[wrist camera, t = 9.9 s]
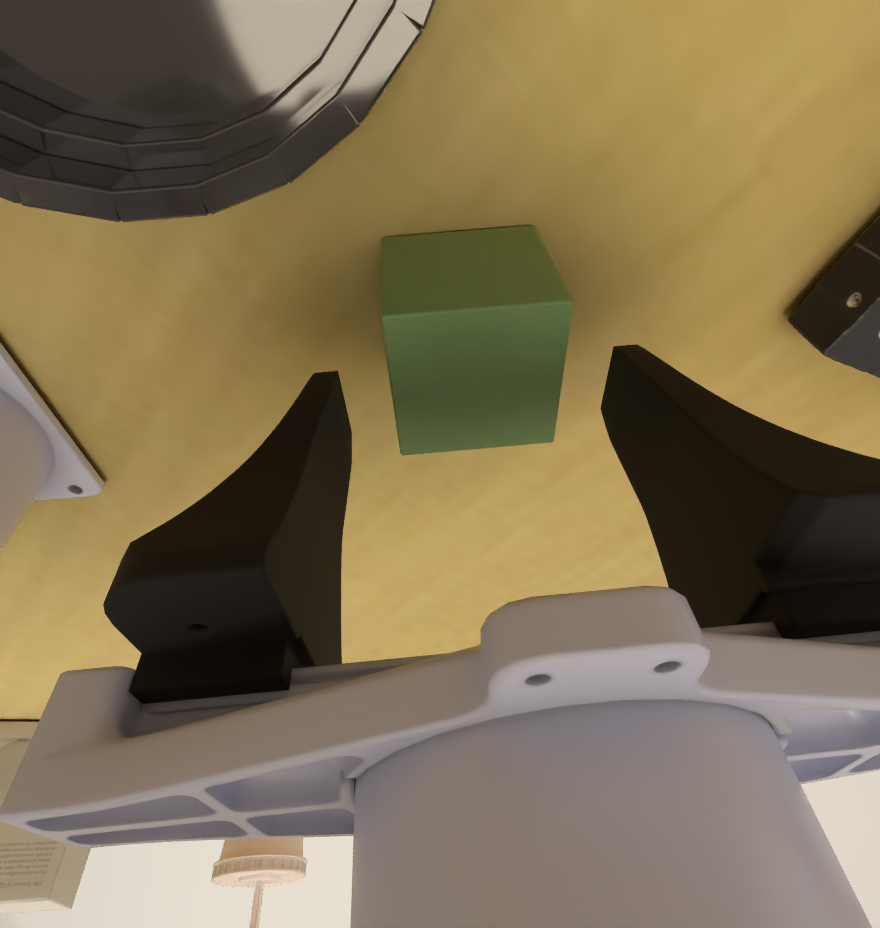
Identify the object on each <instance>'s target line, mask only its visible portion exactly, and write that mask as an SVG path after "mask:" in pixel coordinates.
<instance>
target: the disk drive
mask: <svg viewBox="0 0 880 928" xmlns="http://www.w3.org/2000/svg"><path fill="white" fill-rule="evenodd" d="M788 321H789V323H790V324H791V325H793V327H794V328H795V329H797V330H798V332H800V333H801V334H802V335H803V337H805V338H806V339H807V340H808V341H809V342H810V343H811V344H812V345H813V346H814V347H815V348H817V349H818V350H819V351H820V352H821V353H822V354H823V355H825V356H827V357H829V358H831V359H833V360H834V361H838V362H841V363H843V364H845V365H848V366H852V367H854V368H856V369H858V370H860V371H863V372H868V373H870V374H872V375H875V376H877V377H879V378H880V215H879V216H878V217H877V218H876V219H875V220H874V222H873V223H872V224H871V225H870V226H869V227H868V228H867V229H866V230H865V231H864V232H863V233H862V234H861V236H860V237H858V239H857V240H856V241H855V242H854V243H853V244H852V245H851V246H850V248H849V249H848V250H847V251H846V252H845V253H844V255H843V256H842V257H841V258H840V259H839V260H838V261H837V262H836V263H835V264H834V266H833V267H832V268H831V269H830V271H829V272H828V273H827V274H826V275H825V276H824V277H823V278H822V279H821V280H820V281H819V282H818V283H817V284H816V285H815V288H814V289H813V291H812V292H811V293H810V294H808V295H807V297H806V298H805V299H804V301H803V302H802V304H801V305H800V308H799V309H797V310H795V311H794V312H793V313H792V314H791V315H790V316H789V318H788Z"/></svg>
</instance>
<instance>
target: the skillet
mask: <svg viewBox="0 0 880 928" xmlns="http://www.w3.org/2000/svg"><path fill="white" fill-rule="evenodd" d="M435 1H436V0H0V197H1V198H4V199H6V200H9V201H12V202H14V203H21V204H22V205H24V206H29V207H35V208H41V209H46V210H52V211H58V212H64V213H70V214H75V215H81V216H87V217H93V218H99V219H104V220H110V221H116V222H119V221H123V222H133V221H145V220H157V219H170V218H182V217H194V216H207V215H208V214H209V213H210V214H215V213H217V212H220V211H222V210H225V209H227V208H230V207H232V206H235V205H237V204H240V203H242V202H245V201H247V200H250V199H252V198H255V197H258V196H260V195H263V194H265V193H268V192H270V191H273V190H275V189H278V188H280V187H283V186H285V185H287V184H288V182H289V183H291V182H293V181H294V180H295V179H296V178H298V177H299V176H300V175H301V174H302V173H304V172H305V171H306V170H307V169H308V168H310V167H311V166H312V165H313V164H314V163H316V162H317V161H318V160H319V159H320V158H322V157H323V156H324V155H325V154H326V153H328V152H329V151H330V150H331V149H333V148H334V147H335V146H336V145H337V144H339V143H340V142H341V141H342V140H343V139H345V138H346V137H347V136H348V135H349V134H351V133H352V132H353V131H354V130H355V129H357V128H358V127H359V126H360V123H361V122H363V121H364V119H365V118H366V117H367V115H368V114H369V112H370V111H371V109H372V108H373V106H374V105H375V103H376V102H377V100H378V99H379V97H380V96H381V94H382V93H383V91H384V90H385V88H386V87H387V85H388V84H389V82H390V81H391V79H392V78H393V76H394V75H395V73H396V72H397V71H398V69H399V68H400V66H401V65H402V63H403V62H404V60H405V59H406V57H407V56H408V54H409V53H410V51H411V50H412V48H413V47H414V45H415V44H416V42H417V41H418V39H419V38H420V36H421V35H422V29H424V28H425V27H426V25H427V22H428V19H429V17H430V14H431V11H432V9H433V6H434V3H435Z"/></svg>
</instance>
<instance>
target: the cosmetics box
mask: <svg viewBox="0 0 880 928" xmlns="http://www.w3.org/2000/svg"><path fill="white" fill-rule="evenodd" d="M38 723H39V722H0V808H1V806H2V804H3V802H4V799H5V797H6V795H7V793H8V791H9V788H10V786H11V784H12V782H13V779H14V777H15V775H16V773H17V770H18V768H19V766H20V764H21V761H22V759H23V757H24V755H25V752H26V750H27V748H28V746H29V743H30V741H31V739H32V737H33V735H34V732H35V730H36V728H37V726H38ZM90 849H91V848H84V849H79V848H76V847H73V846H70V845H67V844H64V843H61V842H59V841H56V840H53V839H50V838H47V837H44V836H41V835H38V834H36V833H33V832H30V831H27V830H24V829H21V828H18V827H15V826H13V825H10V824H7V823H4V822H1V821H0V914H9V913H25V912H41V911H59V910H70V909H71V908H72V906H73V902H74V899H75V895H76V893H77V889H78V886H79V883H80V880H81V877H82V874H83V871H84V867H85V864H86V861H87V858H88V855H89V852H90Z"/></svg>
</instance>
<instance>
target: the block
mask: <svg viewBox="0 0 880 928" xmlns="http://www.w3.org/2000/svg"><path fill="white" fill-rule="evenodd" d="M572 305H573V300H572V298H571V296H570V294H569V292H568V290H567V288H566V287H565V285H564V283H563V281H562V279H561V277H560V275H559V273H558V271H557V270H556V268H555V266H554V264H553V262H552V260H551V258H550V256H549V254H548V252H547V251H546V249H545V247H544V245H543V243H542V241H541V239H540V237H539V235H538V234H537V232H536V230H535V228H534V226H532V225H530V226H518V227H505V228H493V229H481V230H468V231H456V232H444V233H431V234H419V235H407V236H394V237H384V238H383V239H382V270H381V324H382V331H383V338H384V345H385V352H386V358H387V365H388V372H389V379H390V386H391V393H392V399H393V406H394V413H395V420H396V427H397V434H398V440H399V447H400V453H401V454H402V455H412V454H424V453H435V452H447V451H458V450H470V449H481V448H493V447H504V446H516V445H527V444H539V443H550V442H553V441H554V436H555V428H556V421H557V414H558V407H559V399H560V392H561V385H562V378H563V371H564V363H565V356H566V349H567V342H568V334H569V327H570V320H571V313H572Z"/></svg>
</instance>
